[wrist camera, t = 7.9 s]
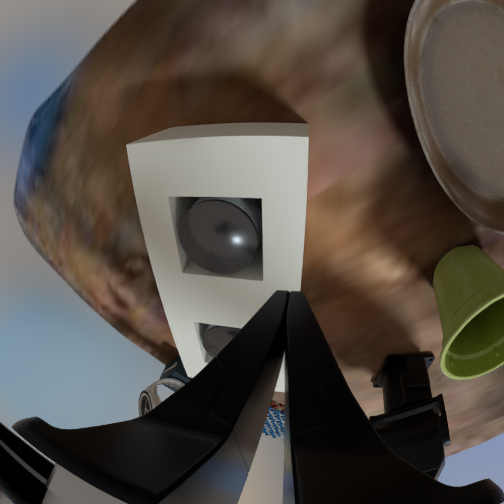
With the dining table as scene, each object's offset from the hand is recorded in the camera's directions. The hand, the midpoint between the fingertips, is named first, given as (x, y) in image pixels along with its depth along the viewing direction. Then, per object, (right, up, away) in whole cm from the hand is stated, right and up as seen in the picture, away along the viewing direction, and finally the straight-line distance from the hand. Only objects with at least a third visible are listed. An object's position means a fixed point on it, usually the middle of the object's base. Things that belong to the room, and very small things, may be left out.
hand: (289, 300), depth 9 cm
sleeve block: (-2, +1, +15) cm, 15 cm away
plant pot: (+18, 0, +12) cm, 21 cm away
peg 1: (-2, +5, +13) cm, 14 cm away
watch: (-10, -14, +27) cm, 32 cm away
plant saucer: (+18, +13, +3) cm, 23 cm away
